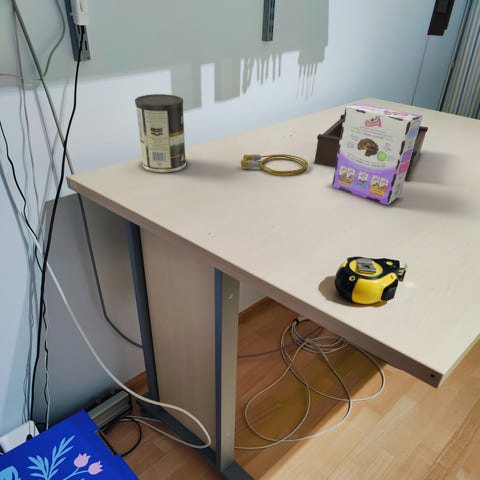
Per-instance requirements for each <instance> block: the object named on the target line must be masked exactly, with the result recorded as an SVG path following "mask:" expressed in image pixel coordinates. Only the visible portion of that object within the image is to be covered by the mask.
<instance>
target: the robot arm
mask: <svg viewBox="0 0 480 480" xmlns="http://www.w3.org/2000/svg"><path fill="white" fill-rule="evenodd" d="M455 1H456V0H435V1H434V5H433V8H432V13H431V17H430V22H429V25H428V29H427V33H426V35H427V36H435V37H436V36H437V37H443V36H444V34H445V31H447V30H448V27H449V24H450V20H451V18H452V13H453V10H454V5H455Z"/></svg>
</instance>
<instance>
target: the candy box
mask: <svg viewBox="0 0 480 480" xmlns="http://www.w3.org/2000/svg"><path fill="white" fill-rule="evenodd" d="M343 115H344V119H343V125H342V131H341V137H340V142H339V148H338V154H337V160H336V166H335V167H334V173H333V179H332V184H331V187H332V188H335V189H337V190H340V191H344V192H346V193H350V194H353V195H354V196H355V195H356V196H358V197H360V198H361V197H362V198H365V199H367V200H370V201H373V202H376V203H379V204H382V205H386V206H388V205H390V204H392V203H393V202H395V201H398V200H399V199H400V197H401V194H402V190H403V186H404V183H405V181H404V180H405V177H406V173H407V169H408V166H409V163H410V159H411V155H412V152H413V148H414V145H415V141H416V138H417V134H418V131H419V127H420V126H421V124H422V120H423V115H420V114H415V113H410V112H405V111H401V110H395V109H392V108H387V107H382V106H378V105H373V104H367V103H363V102H358V103H355V104H351V105H347V106H345V108H344V113H343Z"/></svg>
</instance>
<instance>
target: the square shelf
mask: <svg viewBox="0 0 480 480" xmlns="http://www.w3.org/2000/svg"><path fill="white" fill-rule="evenodd" d="M343 119H344V113H341V115H340V117H339V119H338V120H337V121H336V122H335V123H333V124H332V125H331V126H330V127H328V129H327V130H326V131H325V132H324V133H319V134H318V135H317V136H316V139H317V143H316V151H315V157H314V164H316V165H320V166H321V165H322V166H326V167H331V168H335V166H336V160H337V154H338V148H339V142H340V137H341V131H342V125H343ZM428 131H429V127H428V126H423V125H420V127H419V131H418V134H417V138H416V141H415V145H414V148H413V152H412V155H411V159H410V163H409V166H408V169H407V173H406V177H405V180H404V182H408V181H409V179H410V176H411V174H412V172H413V170H414V168H415V165H416V163H417V161H418V158H419V156H420V154H421V151H422V147H423V144H424V141H425V139H426V134H427V133H428Z"/></svg>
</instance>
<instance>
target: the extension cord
mask: <svg viewBox="0 0 480 480" xmlns="http://www.w3.org/2000/svg"><path fill="white" fill-rule="evenodd" d="M242 157H243V160H241V161H240V162H241V164H240V166H241V168H245V169H246V168H247V169H255V168H256V169H257V168H260V169H261V170H262V171H264V172H266V173H268V174H270V175H274V176H280V177H281V176H282V177H283V176H284V177H285V176H286V177H287V176H295V175H298V174H301V173H303V172H305V171H306V169H307V168H308V167H309V162H308V161H307V160H306V159H304V158H302V157H300V156H297V155H292V154H269V155H261V154H255V153H251V154H244V155H243V156H242ZM262 158H264V159H263V160H261V159H262ZM260 160H261V162H260ZM272 160H286V161H292V162H295V163H298V164H300V165H301V166H302V167H301V168H298V169H293V170H292V169H291V170H276V169H272V168H270V167H267V166H266V165H263V164H264V163H266V162H268V161H272Z"/></svg>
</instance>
